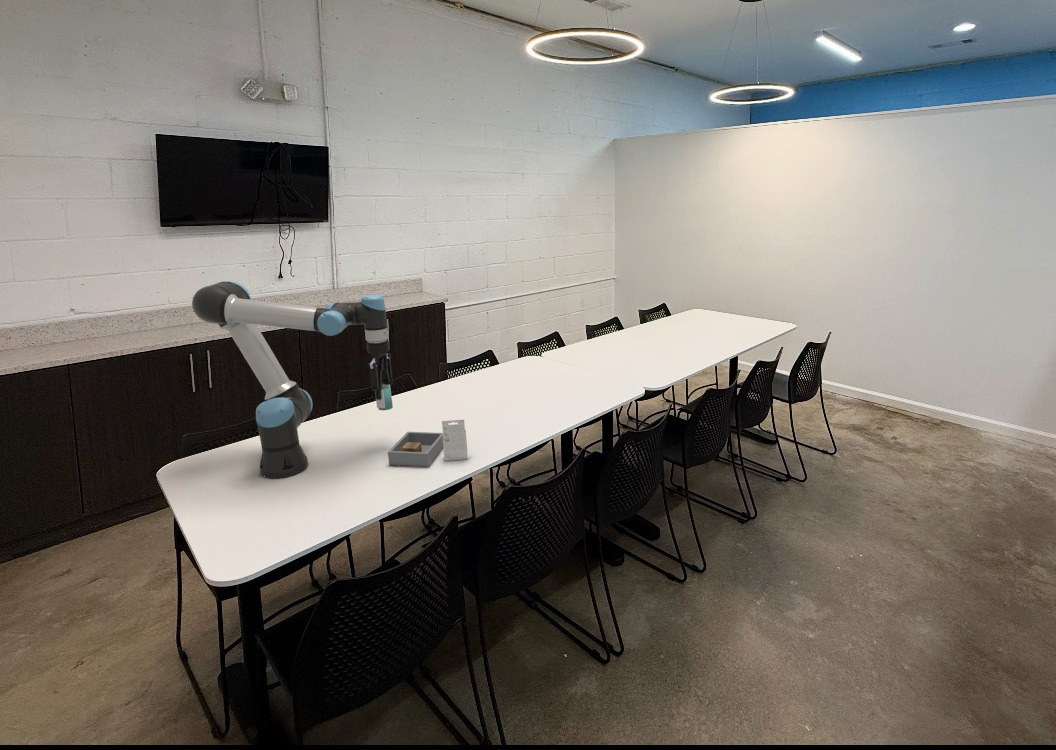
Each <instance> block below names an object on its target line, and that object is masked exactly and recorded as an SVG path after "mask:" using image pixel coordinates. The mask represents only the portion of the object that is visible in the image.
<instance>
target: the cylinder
mask: <svg viewBox="0 0 1056 750" xmlns="http://www.w3.org/2000/svg"><path fill="white" fill-rule="evenodd" d="M382 390H383V392H384V401H385V408H377V410H378V411H388V410H389V411H390V410H392V409H393V407H394V406H393V405H394V404H393V397H392V389H391V386H390V387H382Z"/></svg>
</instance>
